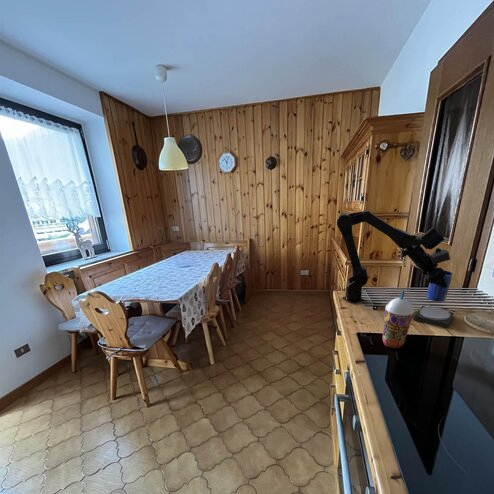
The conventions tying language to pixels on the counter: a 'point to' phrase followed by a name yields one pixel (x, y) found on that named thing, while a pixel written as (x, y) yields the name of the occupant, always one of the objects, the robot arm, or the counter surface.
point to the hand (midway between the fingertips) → (443, 283)
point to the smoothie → (397, 321)
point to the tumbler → (439, 289)
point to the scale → (434, 316)
